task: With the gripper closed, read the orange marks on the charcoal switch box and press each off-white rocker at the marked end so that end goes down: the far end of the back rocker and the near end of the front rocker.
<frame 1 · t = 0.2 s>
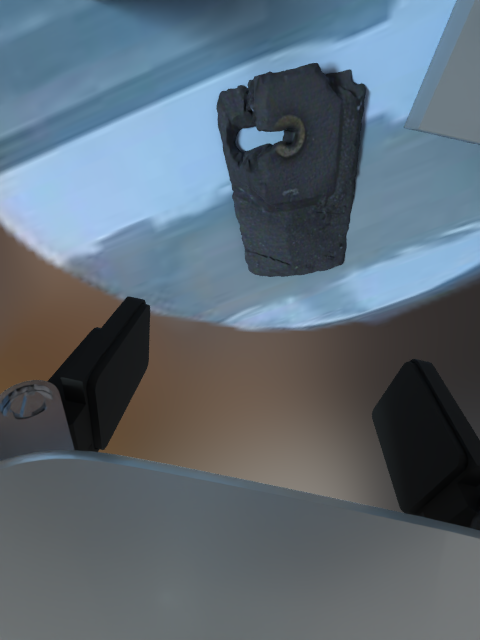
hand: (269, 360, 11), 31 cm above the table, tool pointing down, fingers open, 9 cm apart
dark slate chunk: (289, 186, 37), on the table
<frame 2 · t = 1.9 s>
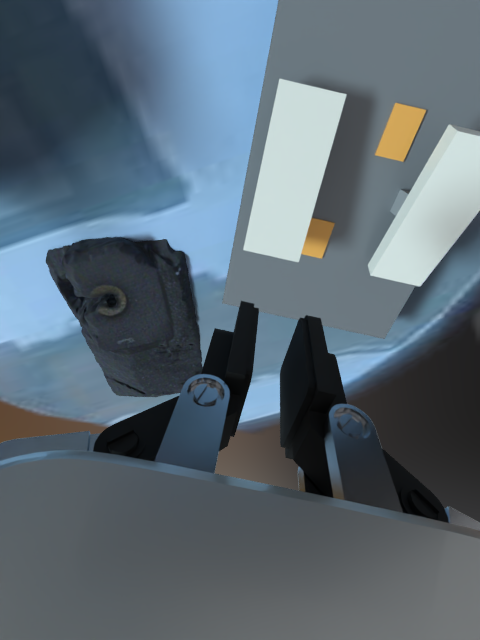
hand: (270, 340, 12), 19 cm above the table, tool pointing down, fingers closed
switch box: (343, 181, 26), on the table
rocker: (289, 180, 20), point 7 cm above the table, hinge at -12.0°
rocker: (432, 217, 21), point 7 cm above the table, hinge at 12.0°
dark slate chunk: (139, 321, 38), on the table
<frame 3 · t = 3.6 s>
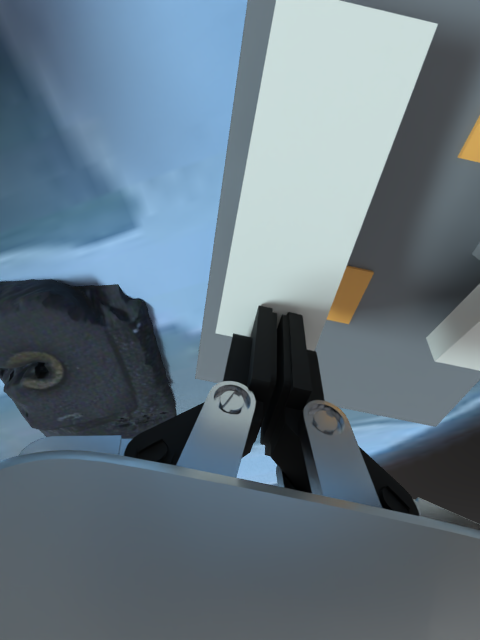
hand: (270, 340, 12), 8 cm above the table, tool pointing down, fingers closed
switch box: (383, 196, 16), on the table
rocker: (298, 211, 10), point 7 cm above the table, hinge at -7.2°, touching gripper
dark slate chunk: (94, 381, 28), on the table
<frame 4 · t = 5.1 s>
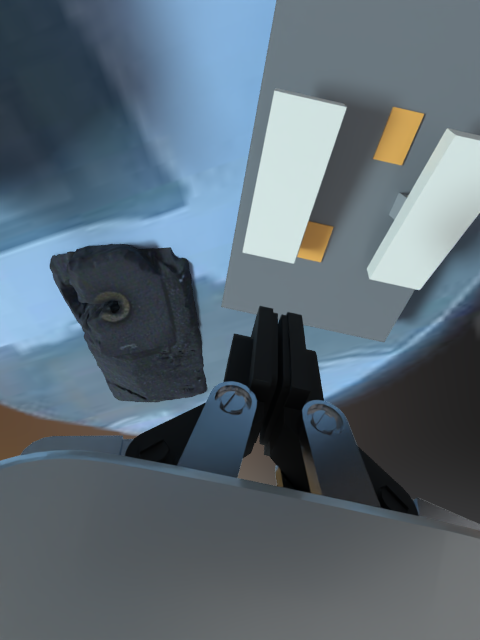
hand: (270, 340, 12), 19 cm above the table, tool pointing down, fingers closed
switch box: (342, 184, 26), on the table
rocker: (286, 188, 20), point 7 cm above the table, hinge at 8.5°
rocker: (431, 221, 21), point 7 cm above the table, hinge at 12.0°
dark slate chunk: (141, 327, 38), on the table
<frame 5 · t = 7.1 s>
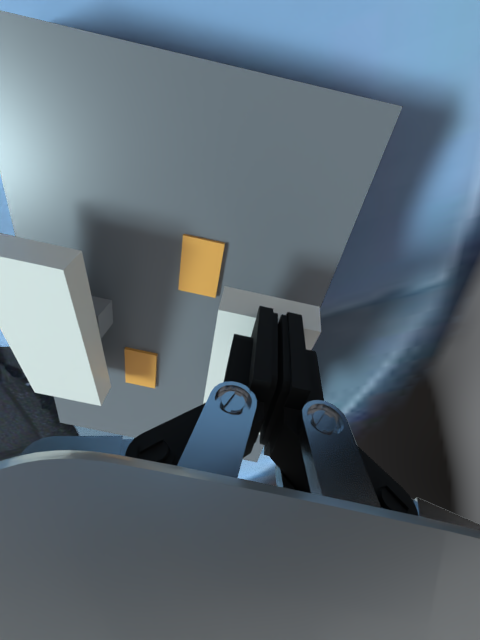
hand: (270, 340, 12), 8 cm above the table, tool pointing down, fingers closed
switch box: (184, 290, 21), on the table
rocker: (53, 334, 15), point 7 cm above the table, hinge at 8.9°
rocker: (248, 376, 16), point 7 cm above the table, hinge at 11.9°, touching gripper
dark slate chunk: (11, 416, 33), on the table
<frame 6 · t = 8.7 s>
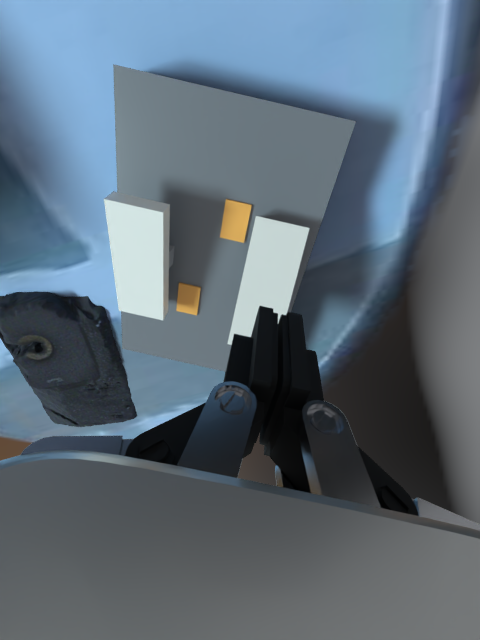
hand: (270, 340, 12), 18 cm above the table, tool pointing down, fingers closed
switch box: (218, 247, 30), on the table
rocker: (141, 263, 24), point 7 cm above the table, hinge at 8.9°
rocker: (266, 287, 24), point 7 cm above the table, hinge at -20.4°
dark slate chunk: (73, 360, 42), on the table
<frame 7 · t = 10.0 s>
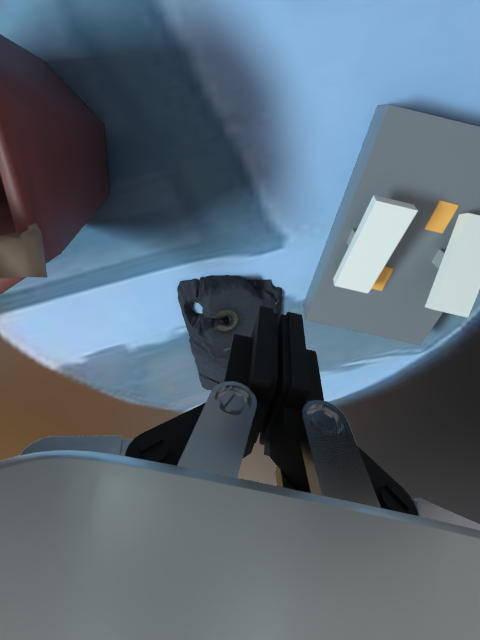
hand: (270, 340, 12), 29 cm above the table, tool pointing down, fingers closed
switch box: (396, 237, 38), on the table
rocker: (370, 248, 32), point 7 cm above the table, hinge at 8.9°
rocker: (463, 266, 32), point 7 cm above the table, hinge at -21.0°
bucket: (44, 154, 37), on the table
dark slate chunk: (232, 334, 50), on the table
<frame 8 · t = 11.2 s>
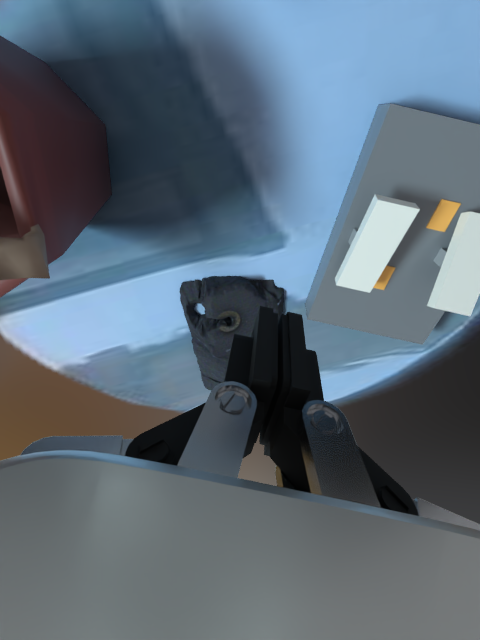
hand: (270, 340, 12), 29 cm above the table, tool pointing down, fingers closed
switch box: (398, 236, 38), on the table
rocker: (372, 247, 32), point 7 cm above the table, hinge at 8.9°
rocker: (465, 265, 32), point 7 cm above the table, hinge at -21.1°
bucket: (45, 155, 37), on the table
dark slate chunk: (234, 334, 50), on the table
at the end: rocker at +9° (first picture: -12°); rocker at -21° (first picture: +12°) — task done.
